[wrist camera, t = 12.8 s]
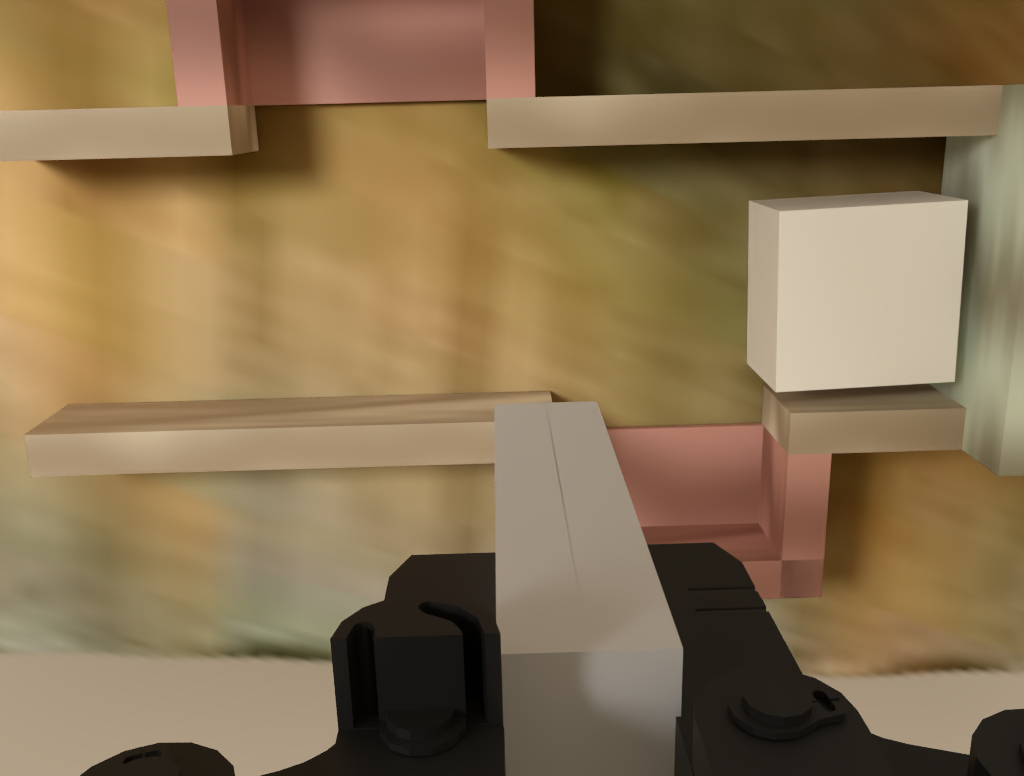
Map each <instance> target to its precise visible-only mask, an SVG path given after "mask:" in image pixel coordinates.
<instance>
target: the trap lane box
mask: <svg viewBox="0 0 1024 776" xmlns="http://www.w3.org/2000/svg"><path fill="white" fill-rule="evenodd" d="M166 7H167V15H168V24H169V32H170V41H171V49H172V58H173V66H174V75H175V84H176V92H177V101H178V106H177V107H139V108H100V109H62V110H23V111H0V161H33V160H71V159H109V158H147V157H185V156H223V155H237V154H242V153H248V152H254V151H259V146H258V136H257V126H256V115H255V106H261V105H299V104H338V103H376V102H415V101H453V100H487V124H488V148H526V147H564V146H602V145H640V144H678V143H716V142H754V141H792V140H830V139H868V138H905V137H943V136H947V137H946V148H945V158H944V168H943V178H942V188H941V195H944V196H949V197H954V198H959V199H965V200H968V210H967V223H966V237H965V250H964V263H963V277H962V290H961V304H960V317H959V330H958V344H957V357H956V371H955V382H942V383H925V384H908V385H891V386H875V387H858V388H841V389H824V390H807V391H790V392H775V391H774V390H773V389H772V388H771V387H770V386H769V385H763V400H762V420H761V423H739V424H705V425H670V426H635V427H606V429H607V432H608V434H609V437H610V440H611V443H612V446H613V449H614V452H615V455H616V457H617V460H618V463H619V466H620V469H621V472H622V475H623V477H624V480H625V483H626V486H627V489H628V492H629V495H630V497H631V500H632V503H633V506H634V509H635V512H636V515H637V518H638V520H639V523H640V526H641V529H642V532H643V535H644V538H645V540H646V543H647V544H677V543H708V542H713V543H715V544H716V545H718V546H719V547H721V548H722V549H724V550H725V551H726V552H728V553H729V554H731V555H732V556H734V557H735V558H737V559H738V560H739V561H741V562H742V563H743V565H744V567H745V569H746V571H747V572H748V574H749V576H750V578H751V580H752V582H753V584H754V585H755V591H758V593H759V595H760V596H761V598H762V599H772V598H806V597H821V594H822V580H823V567H824V553H825V539H826V525H827V511H828V498H829V484H830V470H831V456H832V453H867V452H902V451H936V450H963V451H964V452H966V453H967V454H968V455H970V456H971V457H972V458H974V459H975V460H976V461H978V462H979V463H981V464H982V465H983V466H985V467H986V468H987V469H989V470H990V471H992V472H993V473H994V474H996V475H997V476H1024V84H1014V85H986V86H947V87H909V88H870V89H832V90H793V91H755V92H716V93H678V94H639V95H601V96H562V97H535V53H534V0H166ZM520 403H552V398H551V393H550V391H530V392H495V393H459V394H424V395H389V396H354V397H318V398H283V399H248V400H212V401H177V402H142V403H106V404H71V405H67V406H65V407H64V408H62V409H61V410H59V411H58V412H56V413H55V414H54V415H52V416H51V417H49V418H48V419H46V420H45V421H43V422H42V423H40V424H39V425H38V426H36V427H35V428H33V429H32V430H30V431H29V432H27V433H26V434H24V435H23V436H24V441H25V447H26V453H27V458H28V464H29V469H30V475H31V477H36V476H71V475H105V474H140V473H175V472H209V471H244V470H279V469H313V468H348V467H382V466H417V465H452V464H486V463H495V440H494V404H520Z"/></svg>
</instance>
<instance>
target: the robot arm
mask: <svg viewBox="0 0 1024 776" xmlns="http://www.w3.org/2000/svg"><path fill="white" fill-rule="evenodd" d="M494 440H495V551H496V553H465V554H433V555H411V556H410V557H409V558H408V559H407V560H406V561H405V562H404V563H403V564H402V565H401V566H400V567H399V568H398V569H397V570H396V571H395V572H394V573H393V574H392V575H391V576H390V577H389V581H388V585H387V590H386V595H385V599H384V601H381V602H378V603H375V604H372V605H369V606H366V607H364V608H362V609H360V610H359V611H357V612H356V613H354V614H353V615H351V616H350V617H348V618H347V619H345V620H344V621H342V622H341V624H340V625H339V627H338V628H337V630H336V631H335V633H334V634H333V636H332V637H331V639H330V641H331V652H332V663H333V673H334V685H335V696H336V707H337V718H338V729H339V731H338V735H337V739H336V743H335V744H334V745H333V746H332V747H331V748H329V749H328V750H327V751H325V752H323V753H321V754H320V755H318V756H316V757H314V758H312V759H310V760H308V761H306V762H304V763H301V764H298V765H295V766H292V767H290V768H286V769H283V770H280V771H277V772H273V773H269V774H265V775H261V776H1024V709H1015V710H1004V711H1002V712H999V713H997V714H994V715H992V716H990V717H987V718H985V719H983V720H982V721H981V723H980V724H979V726H978V727H977V729H976V730H975V732H974V733H973V735H972V741H971V748H970V755H967V754H961V753H955V752H949V751H943V750H938V749H932V748H927V747H921V746H915V745H909V744H905V743H901V742H897V741H893V740H889V739H884V738H882V737H879V736H876V735H874V734H871V733H870V731H869V729H868V727H867V726H866V724H865V722H864V721H863V719H862V717H861V716H860V714H859V712H858V711H857V710H856V709H855V708H854V707H853V705H852V704H851V703H850V702H849V701H848V700H847V699H846V698H845V697H844V696H843V695H842V693H840V692H839V691H837V690H835V689H833V688H831V687H830V686H828V685H826V684H825V683H823V682H821V681H819V680H817V679H816V678H813V677H809V676H806V675H803V674H802V672H801V670H800V669H799V667H798V665H797V663H796V661H795V659H794V657H793V656H792V654H791V652H790V650H789V648H788V646H787V645H786V643H785V641H784V639H783V637H782V635H781V633H780V632H779V630H778V628H777V626H776V624H775V622H774V620H773V619H772V617H771V615H770V613H769V612H766V606H765V604H764V602H763V600H762V598H761V596H760V595H759V593H758V591H755V585H754V584H753V582H752V580H751V578H750V576H749V574H748V572H747V571H746V569H745V567H744V565H743V563H742V562H741V561H739V560H738V559H737V558H735V557H734V556H732V555H731V554H729V553H728V552H726V551H725V550H724V549H722V548H721V547H719V546H718V545H716V544H715V543H713V542H708V543H677V544H647V543H646V540H645V538H644V535H643V532H642V529H641V526H640V523H639V520H638V518H637V515H636V512H635V509H634V506H633V503H632V500H631V497H630V495H629V492H628V489H627V486H626V483H625V480H624V477H623V475H622V472H621V469H620V466H619V463H618V460H617V457H616V455H615V452H614V449H613V446H612V443H611V440H610V437H609V434H608V432H607V429H606V426H605V423H604V420H603V417H602V414H601V412H600V409H599V406H598V403H597V401H586V402H553V403H520V404H494ZM80 776H235V773H234V767H233V765H232V764H231V763H230V762H229V761H228V760H227V759H226V758H224V756H222V755H221V754H220V753H219V752H218V751H217V750H214V749H211V748H207V747H204V746H201V745H198V744H194V743H157V744H153V745H148V746H144V747H139V748H136V749H132V750H128V751H124V752H122V753H120V754H118V755H115V756H113V757H111V758H109V759H107V760H105V761H103V762H101V763H99V764H97V765H94V766H92V767H91V768H89V769H88V770H87V771H85V772H84V773H83V774H82V775H80Z"/></svg>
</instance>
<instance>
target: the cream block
mask: <svg viewBox="0 0 1024 776" xmlns="http://www.w3.org/2000/svg"><path fill="white" fill-rule="evenodd" d="M967 210H968V200H965V199H959V198H954V197H949V196H944V195H938V194H933V193H928V192H922V191H902V192H886V193H869V194H852V195H835V196H818V197H801V198H784V199H767V200H750V201H749V244H748V326H747V364H748V365H749V366H750V367H751V368H752V369H753V370H754V371H755V372H756V373H757V374H758V375H759V376H760V377H761V378H762V379H763V380H764V381H765V382H766V383H767V384H768V385H769V386H770V387H771V388H772V389H773V390H774V391H775V392H790V391H807V390H824V389H841V388H858V387H875V386H891V385H908V384H925V383H942V382H955V371H956V357H957V344H958V330H959V317H960V304H961V290H962V277H963V263H964V250H965V237H966V223H967Z"/></svg>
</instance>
